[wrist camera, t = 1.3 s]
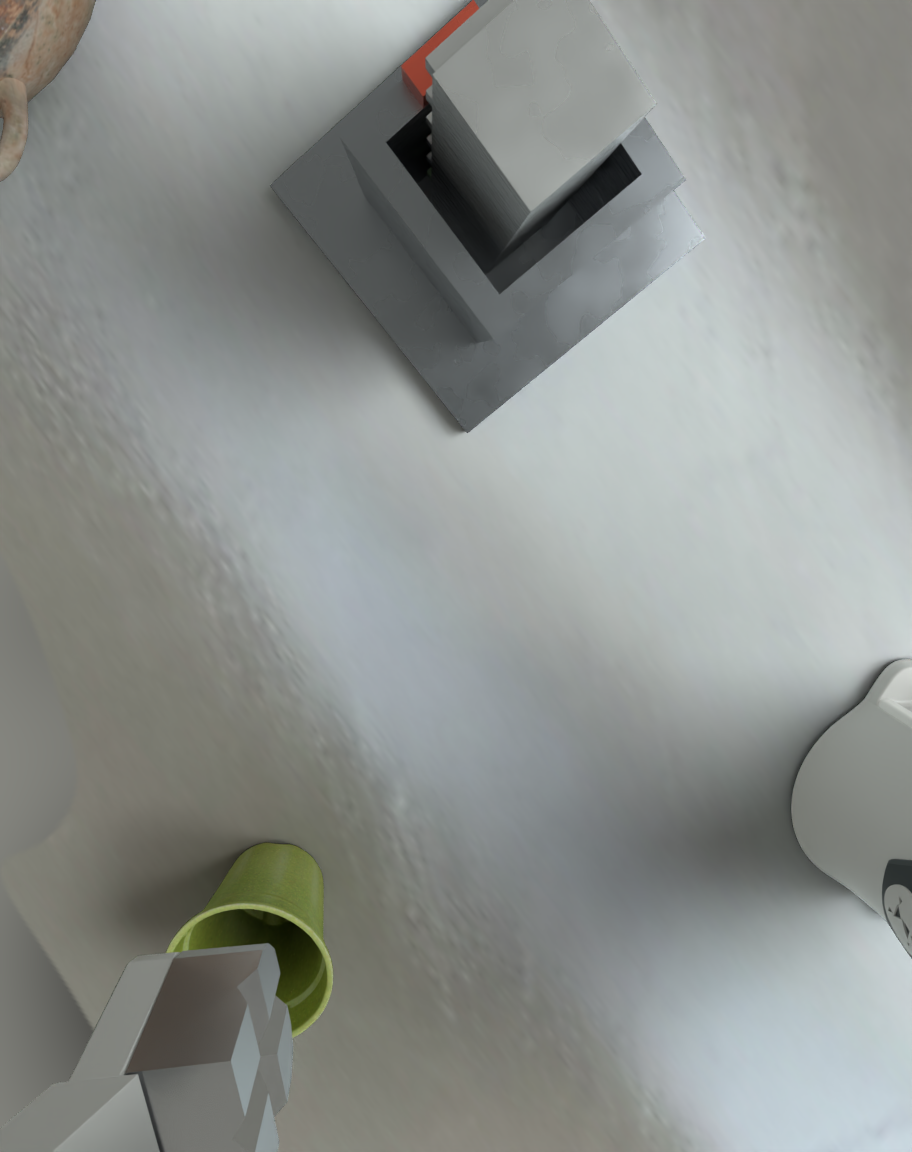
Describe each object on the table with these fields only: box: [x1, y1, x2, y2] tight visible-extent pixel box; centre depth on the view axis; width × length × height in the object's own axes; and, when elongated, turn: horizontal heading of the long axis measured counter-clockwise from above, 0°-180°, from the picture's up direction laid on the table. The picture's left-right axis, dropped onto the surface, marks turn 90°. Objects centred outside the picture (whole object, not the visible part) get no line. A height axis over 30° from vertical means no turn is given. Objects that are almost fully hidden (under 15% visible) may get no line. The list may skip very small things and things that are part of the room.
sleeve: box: [270, 0, 705, 433], centre depth 36 cm, size 16×16×14 cm
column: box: [425, 0, 657, 275], centre depth 32 cm, size 4×5×20 cm
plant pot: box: [166, 843, 333, 1038], centre depth 49 cm, size 9×9×9 cm
